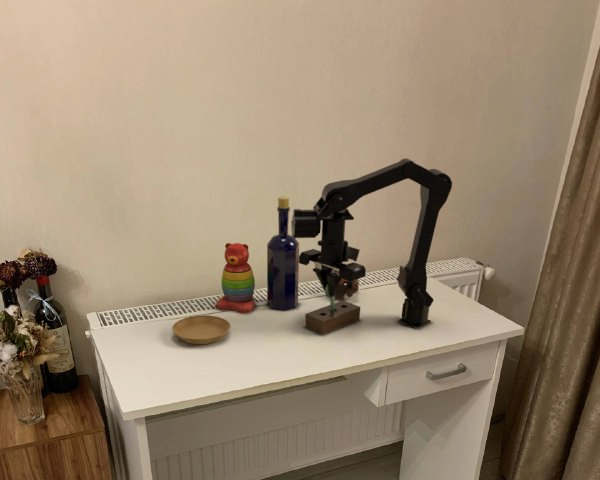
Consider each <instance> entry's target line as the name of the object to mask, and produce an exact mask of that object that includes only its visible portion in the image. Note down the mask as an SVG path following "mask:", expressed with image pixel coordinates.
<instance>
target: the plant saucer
mask: <svg viewBox="0 0 600 480" xmlns="http://www.w3.org/2000/svg"><path fill="white" fill-rule="evenodd" d="M231 328H232V327H231V323H230V322H229V320H227V319H226V318H223V317H221V316H217V315H210V314H209V315H208V314H200V315H199V314H198V315H191V316H187V317H184V318H181V319H179V320H177V321H176V322H175V323H174V324H173V325H172V327H171V330H172V332H173V333H174V334H175V335H176V336H177V337H178V338H179V339H181V340H182V341H183V342H185V343H188V344H193V345H208V344H213V343H215V342H218V341H219V340H221V339H222V338H224V337H225V336H226V335H227V334H228V332H229V331H230V329H231Z"/></svg>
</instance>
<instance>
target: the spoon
mask: <svg viewBox="0 0 600 480" xmlns="http://www.w3.org/2000/svg"><path fill="white" fill-rule="evenodd" d="M325 293H326V294H325ZM324 294H325V296H326V295H328V296H327V297H329V300H330V301H329V302H330V303H329V305H330V311H332V312H335V303H336V302H335V298H334V296H333V297H330V296H329V291H328V284H327V285H326V288H325V292H324Z"/></svg>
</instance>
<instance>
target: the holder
mask: <svg viewBox="0 0 600 480" xmlns="http://www.w3.org/2000/svg"><path fill="white" fill-rule="evenodd" d="M334 303H335V312H332V311H330V304H328V305H326V306H323V307H320V308H318V309H315V310H312V311H308V312H306V313H305V315H304V317H305V318H304V328H305V329H308V330H309V331H312V332H314V333H316V334H319V335H321V336H324V335H326V334H329V333H332V332H334V331H337V330H339V329H341V328H345V327H346V326H350V325H351V324H354V323H357V322H359V321H360V320H361V319H360V318H361V306H360V305H357V304H354V303H351V302H349V301H346V300H344V299H343V300H342V299H341V300H340V301H337V302H334Z"/></svg>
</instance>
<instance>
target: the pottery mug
mask: <svg viewBox="0 0 600 480" xmlns="http://www.w3.org/2000/svg"><path fill="white" fill-rule="evenodd" d="M359 285H360V282H359V279H357V280H354V281H347V280H344V279H341V281H340V283H339V285H338V287H337V289H336V292H335V294H334V299H338V300H341V301H342V300H344V299H345V296H346V297H347V298H352V297H353V296H354V294H356V293H357V292H359Z"/></svg>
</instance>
